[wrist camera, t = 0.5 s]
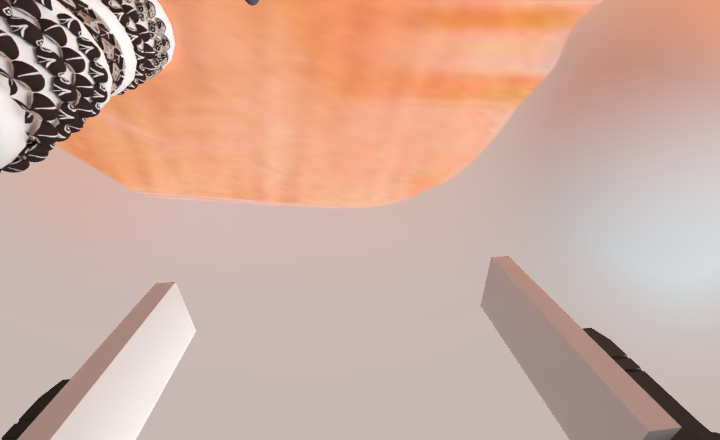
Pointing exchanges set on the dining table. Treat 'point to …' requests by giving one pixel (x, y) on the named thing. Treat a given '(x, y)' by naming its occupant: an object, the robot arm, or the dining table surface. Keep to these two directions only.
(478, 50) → the dining table surface
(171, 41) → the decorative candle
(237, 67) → the dining table surface
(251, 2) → the toy drill
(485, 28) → the dining table surface
